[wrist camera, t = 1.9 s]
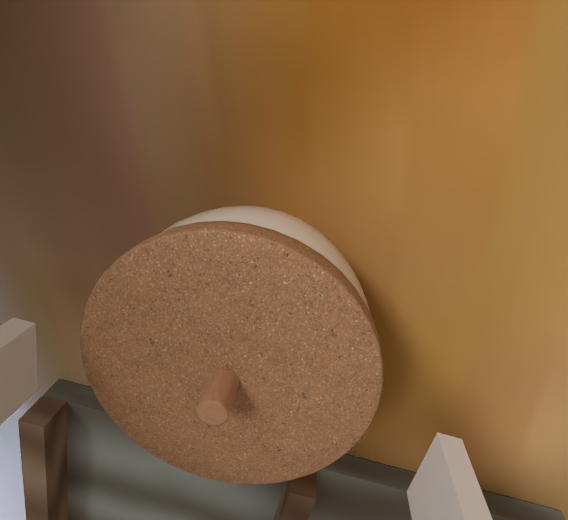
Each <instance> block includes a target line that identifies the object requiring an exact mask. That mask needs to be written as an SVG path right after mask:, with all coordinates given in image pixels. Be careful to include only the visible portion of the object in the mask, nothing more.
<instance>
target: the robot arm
mask: <svg viewBox="0 0 568 520" xmlns="http://www.w3.org/2000/svg"><path fill="white" fill-rule="evenodd" d="M37 390H38V369H37V344H36V323H32V322H29V321H25V320H21V319H18V318H14V317H13V318H11V319H10V320H8V321H7V322H5V323H3V324H2V325H0V425H1V424H2V423H3V422H4V421H5V420H6V419H7V418H8V417H9V416H10V415H11V414H12V413H13V412H15V411H16V410H17V409H18V408H19V407H20V406H21V405H22V404H23V403H24V402H25V401H26V400H27V399H28V398H29V397H31V396H32V395H33V394H34V393H35V392H36V391H37ZM407 496H408V501H409V507H410V512H411V517H412V520H493V519H492V517H491V514H490V511H489V509H488V506H487V504H486V501H485V498H484V496H483V493H482V491H481V488H480V485H479V483H478V480H477V478H476V475H475V472H474V470H473V467H472V464H471V462H470V459H469V457H468V454H467V451H466V449H465V446H464V444H463V441H462V439H460V438H456V437H453V436H449V435H445V434H442V433H438V432H437V434H436V436H435V438H434V440H433V442H432V444H431V446H430V448H429V449H428V451H427V453H426V455H425V457H424V459H423V461H422V463H421V465H420V467H419V469H418V471H417V473H416V474H415V476H414V478H413V480H412V482H411V484H410V486H409V488H408V490H407Z"/></svg>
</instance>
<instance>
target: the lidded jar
mask: <svg viewBox="0 0 568 520" xmlns="http://www.w3.org/2000/svg"><path fill="white" fill-rule="evenodd" d="M81 352H82V358H83V365H84V369H85V372H86V374H87V377H88V380H89V383H90V385H91V387H92V389H93V391H94V393H95V395H96V397H97V399H98V401H99V403H100V404H101V406H102V407H103V408H104V410H105V411H106V413H107V414H108V415H109V417H110V418H111V419H112V420H113V421H114V422H115V424H116V425H117V426H118V427H119V428H120V429H121V430H122V431H123V432H124V433H125V434H126V435H127V436H128V437H129V438H131V439H132V440H133V441H134V442H135V443H137V444H138V445H139V446H140V447H142V448H143V449H145V450H146V451H148V452H149V453H151V454H152V455H153V456H155V457H156V458H158V459H160V460H162V461H164V462H166V463H168V464H170V465H172V466H174V467H176V468H179V469H181V470H184V471H186V472H188V473H191V474H193V475H197V476H201V477H204V478H208V479H212V480H217V481H223V482H228V483H234V484H269V483H278V482H283V481H288V480H293V479H297V478H300V477H303V476H306V475H309V474H312V473H314V472H316V471H318V470H320V469H322V468H324V467H326V466H328V465H330V464H331V463H333V462H334V461H336V460H337V459H339V458H340V457H342V456H343V455H344V454H346V453H347V452H348V451H349V450H350V449H351V448H352V447H353V446H354V445H355V444H356V443H357V442H358V441H359V440H360V439H361V437H362V436H363V434H364V433H365V431H366V430H367V429H368V427H369V426H370V424H371V423H372V421H373V418H374V416H375V414H376V411H377V409H378V407H379V404H380V399H381V395H382V390H383V386H384V363H383V357H382V352H381V346H380V341H379V336H378V332H377V330H376V327H375V324H374V322H373V319H372V317H371V314H370V310H369V306H368V303H367V300H366V297H365V295H364V292H363V290H362V287H361V285H360V282H359V280H358V278H357V276H356V275H355V273H354V271H353V270H352V268H351V266H350V265H349V263H348V261H347V260H346V258H345V257H344V256H343V255H342V254H341V252H340V251H339V250H338V249H337V248H336V247H335V245H334V244H333V243H332V242H331V241H330V240H329V239H328V238H327V237H325V236H324V235H323V234H322V233H321V232H320V231H318V230H317V229H316V228H314V227H313V226H311V225H309V224H308V223H306V222H305V221H303V220H301V219H299V218H297V217H294V216H292V215H290V214H287V213H285V212H282V211H278V210H274V209H270V208H266V207H257V206H231V207H221V208H217V209H212V210H208V211H204V212H201V213H199V214H196V215H193V216H191V217H189V218H186V219H184V220H181V221H179V222H176V223H175V224H173V225H172V226H170V227H168V228H167V229H165V230H164V231H162V232H160V233H158V234H156V235H153V236H151V237H149V238H147V239H146V240H144V241H142V242H141V243H139V244H138V245H136V246H135V247H133V248H131V249H130V250H128V251H127V252H125V253H124V254H123V255H121V256H120V257H119V258H118V259H117V260H116V261H115V262H114V263H113V264H112V265H111V266H110V267H109V268H108V269H107V270H106V271H105V272H104V273H103V274H102V276H101V277H100V279H99V280H98V282H97V283H96V284H95V286H94V287H93V289H92V291H91V294H90V296H89V298H88V301H87V303H86V305H85V309H84V313H83V318H82V323H81Z"/></svg>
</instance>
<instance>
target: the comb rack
mask: <svg viewBox="0 0 568 520" xmlns="http://www.w3.org/2000/svg"><path fill="white" fill-rule="evenodd" d="M18 424H19V436H20V448H21V460H22V472H23V484H24V496H25V508H26V520H412V517H411V512H410V507H409V501H408V496H407V490H408V488H409V486H410V484H411V482H412V480H413V478H414V476H415V474H416V473H415V472H411V471H407V470H404V469H400V468H396V467H392V466H388V465H385V464H381V463H377V462H373V461H369V460H366V459H362V458H358V457H354V456H350V455H347V454H344V455H343V456H342V457H340V458H339V459H337V460H336V461H334V462H333V463H331V464H330V465H328V466H326V467H324V468H322V469H320V470H318V471H316V472H314V473H312V474H309V475H306V476H303V477H300V478H297V479H293V480H288V481H283V482H278V483H269V484H234V483H228V482H223V481H217V480H212V479H208V478H204V477H201V476H197V475H193V474H191V473H188V472H186V471H184V470H181V469H179V468H176V467H174V466H172V465H170V464H168V463H166V462H164V461H162V460H160V459H158V458H156V457H155V456H153V455H152V454H151V453H149V452H148V451H146V450H145V449H143V448H142V447H140V446H139V445H138V444H137V443H135V442H134V441H133V440H132V439H131V438H129V437H128V436H127V435H126V434H125V433H124V432H123V431H122V430H121V429H120V428H119V427H118V426H117V425H116V424H115V422H114V421H113V420H112V419H111V418H110V417H109V415H108V414H107V413H106V411H105V410H104V408H103V407H102V406H101V404H100V403H99V401H98V399H97V397H96V395H95V393H94V391H93V389H92V387H88V386H84V385H80V384H77V383H73V382H69V381H65V380H61V379H59V380H58V381H57V382H56V383H55V384H54V385H53V386H52V387H51V388H50V389H49V390H48V391H47V392H46V393H45V394H44V395H43V396H42V397H41V398H40V399H39V400H38V401H37V402H36V403H35V404H34V405H33V406H32V407H31V408H30V409H29V410H28V411H27V412H26V413H25V414H24V415H23V416H22V417H21V418H20V419H19V420H18ZM481 491H482V493H483V496H484V498H485V501H486V504H487V506H488V509H489V511H490V514H491V517H492V519H493V520H566V519H565V518H564V516H563V514H562V512H561V511H560V510H556V509H552V508H548V507H544V506H541V505H537V504H533V503H529V502H525V501H522V500H518V499H514V498H510V497H506V496H503V495H499V494H495V493H491V492H487V491H484V490H481Z"/></svg>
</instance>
